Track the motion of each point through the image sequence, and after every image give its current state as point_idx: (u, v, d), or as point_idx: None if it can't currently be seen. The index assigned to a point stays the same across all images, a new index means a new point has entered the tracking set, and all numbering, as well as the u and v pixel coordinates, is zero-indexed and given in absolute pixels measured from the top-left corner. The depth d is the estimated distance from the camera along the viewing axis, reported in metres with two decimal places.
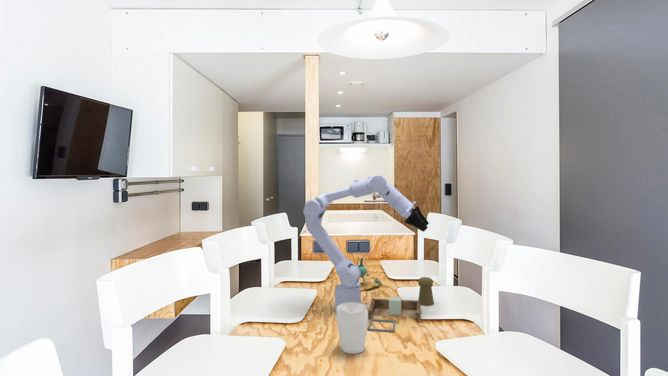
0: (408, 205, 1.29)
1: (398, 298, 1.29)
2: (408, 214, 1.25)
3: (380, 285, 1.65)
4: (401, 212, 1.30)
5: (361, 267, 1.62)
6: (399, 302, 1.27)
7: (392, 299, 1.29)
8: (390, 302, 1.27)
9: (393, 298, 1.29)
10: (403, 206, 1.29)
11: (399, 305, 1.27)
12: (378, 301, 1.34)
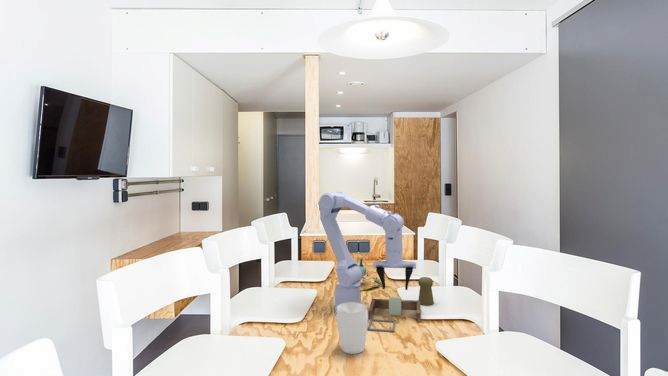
0: (387, 261, 1.27)
1: (398, 298, 1.29)
2: (373, 266, 1.30)
3: (380, 285, 1.65)
4: None
5: (361, 267, 1.62)
6: (399, 302, 1.27)
7: (392, 299, 1.29)
8: (390, 302, 1.27)
9: (393, 298, 1.29)
10: (386, 257, 1.28)
11: (399, 305, 1.27)
12: (378, 301, 1.34)
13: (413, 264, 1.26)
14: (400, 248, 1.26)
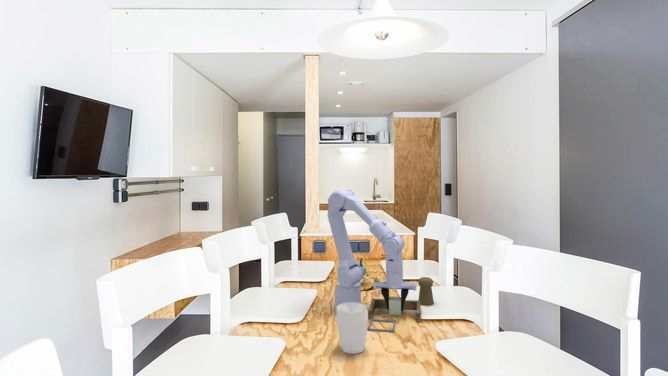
0: (388, 283, 1.27)
1: (398, 298, 1.29)
2: None
3: None
4: None
5: None
6: (399, 302, 1.27)
7: (392, 299, 1.29)
8: (390, 302, 1.27)
9: (393, 298, 1.29)
10: (386, 278, 1.29)
11: (399, 305, 1.27)
12: (378, 301, 1.34)
13: (413, 286, 1.26)
14: (400, 270, 1.26)
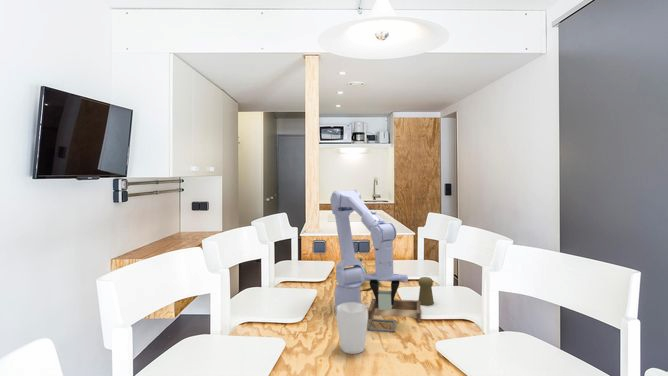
0: (377, 274, 1.18)
1: (388, 292, 1.20)
2: (361, 279, 1.20)
3: (379, 285, 1.65)
4: None
5: None
6: (389, 296, 1.17)
7: (381, 292, 1.19)
8: (379, 296, 1.18)
9: (382, 292, 1.20)
10: (375, 270, 1.19)
11: (389, 299, 1.17)
12: None
13: (404, 277, 1.17)
14: (386, 261, 1.16)
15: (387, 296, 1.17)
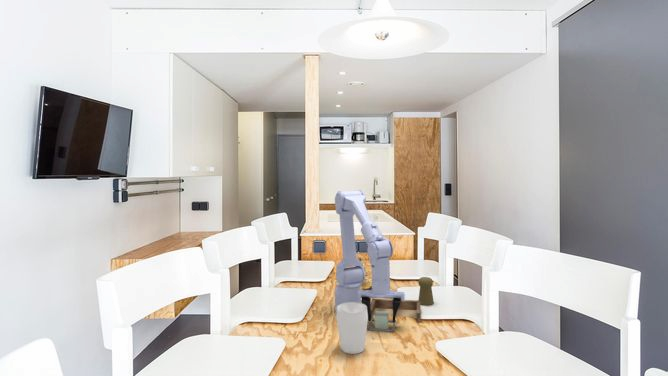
0: (373, 291, 1.16)
1: (385, 313, 1.18)
2: (358, 295, 1.19)
3: None
4: None
5: None
6: (386, 318, 1.16)
7: (378, 314, 1.18)
8: (376, 318, 1.17)
9: (379, 313, 1.19)
10: None
11: (386, 321, 1.16)
12: (378, 301, 1.34)
13: (401, 295, 1.15)
14: (382, 278, 1.15)
15: (384, 318, 1.16)
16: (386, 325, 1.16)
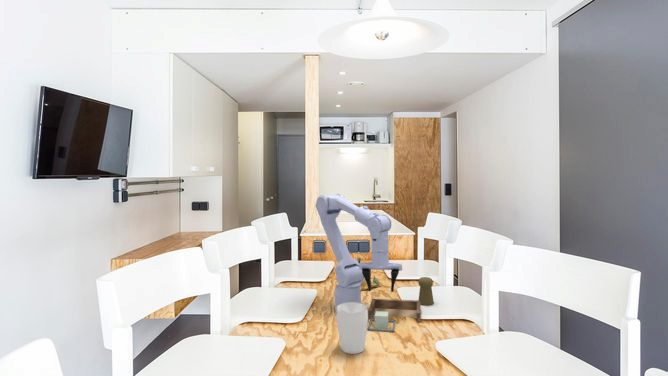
0: (373, 263, 1.26)
1: (385, 313, 1.18)
2: (359, 267, 1.28)
3: (378, 285, 1.65)
4: None
5: None
6: (386, 318, 1.16)
7: (378, 314, 1.18)
8: (376, 318, 1.17)
9: (379, 313, 1.19)
10: None
11: (386, 321, 1.16)
12: (378, 301, 1.34)
13: (399, 266, 1.25)
14: (384, 250, 1.24)
15: (384, 318, 1.16)
16: (386, 325, 1.16)
